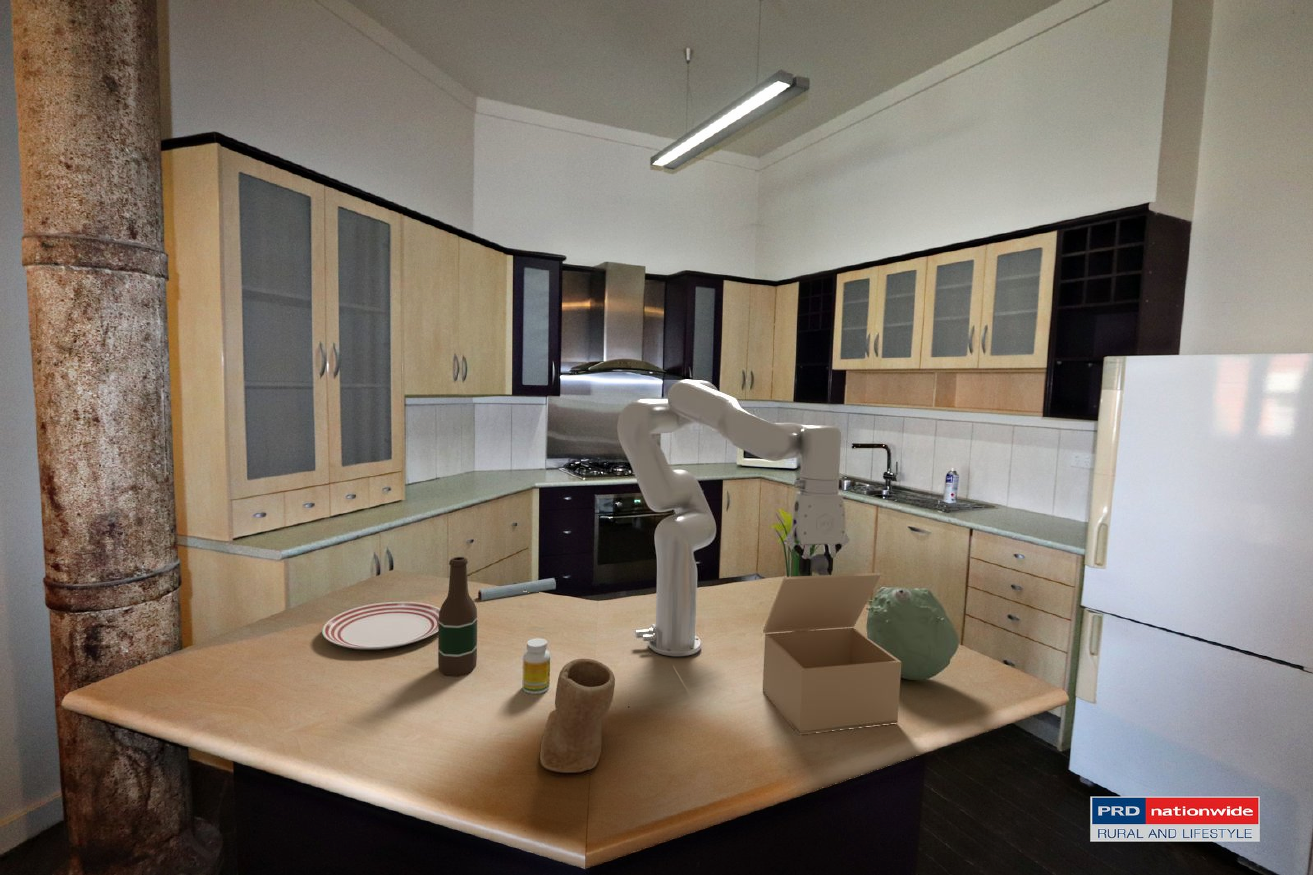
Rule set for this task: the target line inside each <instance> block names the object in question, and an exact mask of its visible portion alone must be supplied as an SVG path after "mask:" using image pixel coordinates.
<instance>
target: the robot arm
mask: <svg viewBox="0 0 1313 875" xmlns="http://www.w3.org/2000/svg"><path fill="white" fill-rule="evenodd" d="M666 396H667V397H666V398H665V399H664V398H663V399H662V398H661V399H660V398H642V399H640V398H639V399H635V400H633V401H631V402H629V403H627V405H625V406H624V408H622V410H621V412H620V413H619V414H620V415H619V416H618V420H617V431H616V432H617V437H618V440H619V443H620V446H621V447H622V450H623V453H624V454H625V456H626V457H627V460H628V462H629V464H630V467H631V469H632V471H633V472H632V473H633V474H634V477H635V480H636V482H637V485H638V487H639V489H640V492H641V493H642V496H643V499H644V501H645V503H646V506H647V507H648V508H649V509H650V510H651V511H653V512H655V513H663V512H669V511H673V510H674V513H675V514H672V515H669V516H667V517H665V518H663V519H662V520H661V521H660V522H659V523H658V524H657V526H656V528H655V530H654V546H655V554H656V597H655V598H656V601H655V623H652V624H651V627H648V628H647V629H643V628H642V629H635V633H634V634H635V639H642V641H643V642H647V643H648V647H649V648H650V650H652V651H653V652H655V653H656V654H660V655H664V656H669V657H686V656H687V657H688V656H690V655H694V654H696V653H698V652H699V651H700V650H701V647H702V640H701V639H700V637H698V636H697V635H696V622H697V621H696V620H697V619H696V618H697V617H696V616H697V614H696V613H697V596H698V594H697V593H698V592H697V591H698V567H697V563H696V559H695V555H694V552H696V551H697V550H700V549H703V548H705V547H707V546H709V545H710V544H711V543H712V542H713V541H714V540H715V538H716V534H717V524H716V520H715V518H714V515H713V512H712V510H711V508H710V506H709V503H708V501H707V499H706V496H705V494H704V491H703V489H702V487H701V485H700V483H699V481H698V480H697V479H696V477H695V476H694V474H692V473H690V472H689V471H687V470H684V469H680V468H679V469H671V467H670V465H669V463H668V459H667V458H666V456H665V453H664V451H663V449H662V447H660V445H659V444H658V443H657V442H656V441H655V439H653V436H652V435H654V434H655V435H656V434H668V433H673V432H676V431H678V430H682V429H683V428H686V427H688V426H689V425H692V424H694V423H695V424H698V425H699V426H703V427H705V428H706V429H709V430H711V431H714V432H715V433H718V434H719V435H721V436H722V438H724V439H725V440H726V441H727V442H729V443H730V444H732V445H733V446H735V447H736V448H739V449H741V450H743V451H745V452H747V453H748V454H751V455H753V456H755V457H758V458H761V459H762V460H767V461H770V462H777V461H782V460H787V459H788V460H789V459H795V458H800V459H801V460H800V477H799V480H795V481H794V488H795V489H799V491H797V492H796V495H795V499H794V504H793V508H792V513H793V515H792V524H791V530H790V532H789V534H788V535H787V537H786V538H785V540H784V544H785V545H786V546H787V545H788V546H790V549H791V550H792V549H793V550H794V551H795V552H796V553H797V555H799V572H800V575H802V576H810V567H811V560H810V559H809V558H808V556H810V547H812V545H815V546H819V545H820V546H823V553H821V554H822V555H824V556H825V557H826V558H827V560H828V568H827V571H828V573H829V575H833V574H832V572H833V571H834V570H833V569H834V558H836V556H837V553H838V552H840V550H841V549H842V548H843V547H844V546H846V545H847V544H849V543H850V538H849V537H848V535H847V533H846V530H847V529H846V527H847V526H846V524H847V523H846V511H845V510H846V509H845V508H846V507H845V503H844V497H843V494H842V493H839V487H840V486H839V485H840V464H841V444H842V443H841V442H842V433H841V430H840V428H839V427H837V426H834V425H820V424H815V425H814V424H813V425H811V424H810V425H806V424H802V423H797V422H776V423H774V422H771V421H769V420H765V419H764V418H761V417H758V416H756V415H754V414H752V413H749V412H748V411H746V410H744V409H743V408H742V407H741V403H740V401H739V399H737V398H736V397H733V396H731V395H728V394H726V393H723V392H720V391H719V390H718V388H717V386H715V385H714V384H712V383H711V382H710V381H707V380H698V379H680V380H678V381H676V382H675V383H674V384H672V385H671V387H670V388H669V389H668V392H667V395H666ZM794 540H798V541H799V545H798V544H796V543H795V542H794ZM788 546H787V547H788Z"/></svg>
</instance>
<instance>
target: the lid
mask: <svg viewBox="0 0 1313 875" xmlns="http://www.w3.org/2000/svg"><path fill="white" fill-rule="evenodd" d="M822 554H823V553H814V554H813V555H812V556H811V557H810V558H809V559H810V560H811V567H810V570H811V571H812V573H814V574H817V575H812V576H796V577H787V576H784V577H783V579H782V582H781V584H780V586H779V588H778V589H779V590H778V591H777V595H776V597H775V600H774V602H773V604H772V607H771V610H770V612H769V615H768V618H767V620H766V622H765V625H764V627H763V630H762V631H763V634H771V633H785V632H799V631H814V630H828V629H843V628H855V626H856V623H857V621H858V620H859V618H860V617H861V614H862V613H863V611H864V608H865V607H866V605H867V603H868V600H870V597H871V595H872V593H873V592H874V589H875V587H876V586H877V584H878V581H879V580H880V578H881V576H882V574H881V572H865V573H862V572H861V573H844V574H832V575H829V573H828V571H827V568H828V560H827V558H826V557H825V556H824V555H822Z"/></svg>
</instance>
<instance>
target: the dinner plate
mask: <svg viewBox="0 0 1313 875" xmlns="http://www.w3.org/2000/svg"><path fill="white" fill-rule="evenodd" d="M440 609H441V607H437V606H435V605H432V604H427V603H425V602H424V603H423V602H415V601H390V602H389V601H387V602H379V603H372V604H366V605H362V606H357V607H354V608H351V609H349V610H345V611H344V612H342V613H339V614H337V615H335V616H334V617H331V618H330V619H328V620H327V622H326V623H325V624H323V627H322V629H321V635H322V636H323V637H324V638H325V639H326V640H327V641H329V642H330V643H332V644H335V645H337V646H341V647H344V648H348V649H355V650H383V649H391V648H397V647H401V646H406V645H410V644H412V643H416V642H419V641H422V640H425V639H427V638H429V637H431V636H433V635H434V634H437V633H438V620H439V612H440Z"/></svg>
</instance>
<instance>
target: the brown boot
mask: <svg viewBox="0 0 1313 875" xmlns="http://www.w3.org/2000/svg"><path fill="white" fill-rule="evenodd" d="M615 683H616V678H615V675H614V672H613V671H612V670H611V668H610V667H608V666H607V665H606V664H604V663H603V662H600V661H598V660H595V659H590V658H577V659H574V660H571V661H569V662H567V663H565V664H564V666H563V667H562V669H561V670H560V672H559V674H558V678H557V682H556V691H555V699H554V706H555V707H554V708H555V709H554V710H552V711H550V713H549V714H548V717H547V720H546V723H545V728H544V732H543V737H542V741H541V744H540V745H541V746H540V752H539V759H540V763H541V765H542V767H543V768H545V769H546V770H549V771H552V772H555V773H556V772H557V773H563V774H570V773H571V774H574V773H581V772H584V771H587V770H588V771H589V770H592V769H593V768H595V767H596V765H597V763H598V762H599V760H600V756H601V752H602V744H603V743H602V740H603V739H602V725H603V721H604V720H605V718H606V716H607V713H608V712H609V709H610V708H611V705H612V702H613V699H614V692H615V686H616V685H615Z"/></svg>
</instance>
